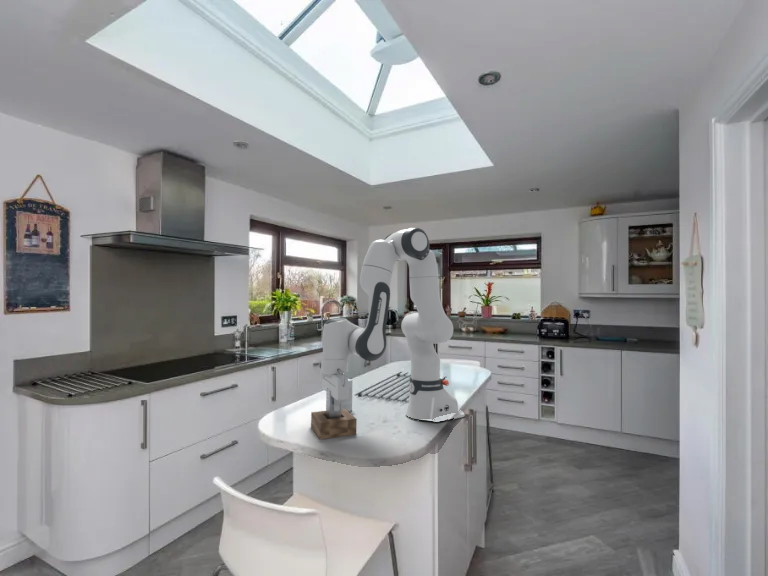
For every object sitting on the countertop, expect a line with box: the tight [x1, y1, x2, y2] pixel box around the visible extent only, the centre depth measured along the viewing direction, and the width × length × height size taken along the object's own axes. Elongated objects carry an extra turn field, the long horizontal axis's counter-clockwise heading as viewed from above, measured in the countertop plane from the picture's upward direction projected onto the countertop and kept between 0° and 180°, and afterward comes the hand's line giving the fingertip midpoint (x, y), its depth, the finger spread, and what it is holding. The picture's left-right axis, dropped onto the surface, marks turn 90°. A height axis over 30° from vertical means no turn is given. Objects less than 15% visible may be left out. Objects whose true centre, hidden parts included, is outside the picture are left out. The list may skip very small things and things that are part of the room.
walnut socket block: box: [310, 409, 358, 440], centre depth 125 cm, size 12×12×5 cm
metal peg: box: [325, 388, 341, 419], centre depth 125 cm, size 4×4×12 cm
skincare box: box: [341, 378, 353, 412], centre depth 147 cm, size 6×4×12 cm
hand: (333, 408), depth 125 cm, fingers closed on metal peg, 4 cm apart
